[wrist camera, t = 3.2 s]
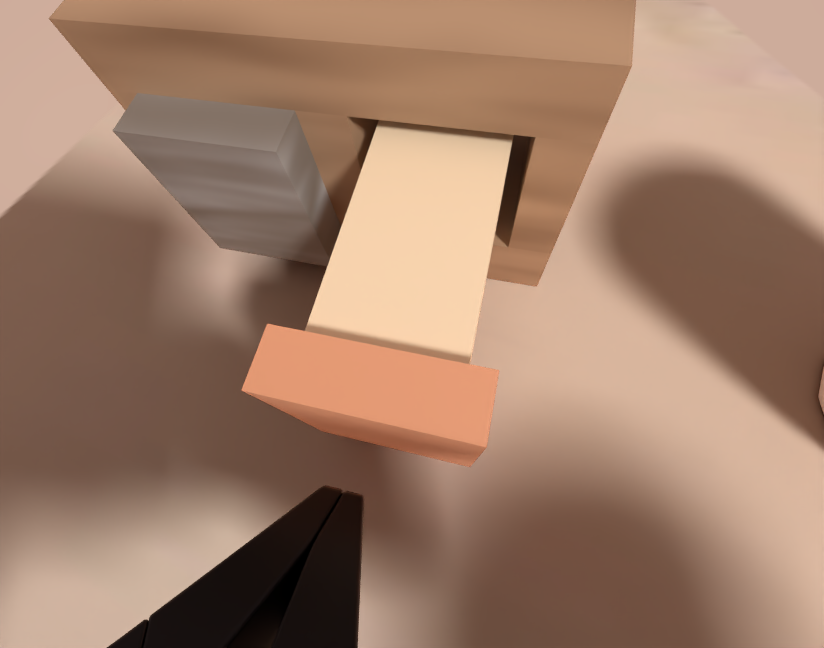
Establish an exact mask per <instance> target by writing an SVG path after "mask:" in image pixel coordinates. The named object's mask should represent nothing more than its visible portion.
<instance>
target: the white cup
mask: <svg viewBox="0 0 824 648" xmlns="http://www.w3.org/2000/svg"><path fill="white" fill-rule="evenodd" d="M818 398H819V401H820V404H821V407H822V410H823V413H824V368H823V373H822V378H821V384H820V389H819V395H818Z"/></svg>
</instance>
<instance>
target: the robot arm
mask: <svg viewBox="0 0 824 648" xmlns="http://www.w3.org/2000/svg"><path fill="white" fill-rule="evenodd" d="M363 512H364V497H363V495H361V494H357V493H353V492H350V491H345V492H343V490H341V489H338V488H334V487H331V486H323V487H321V488H319V489H318V490H317V491H315V492H314V493H313V494H312V495H310V496H309V497H308V498H306V499H305V500H304V501H302V502H301V503H300V504H298V505H297V506H296V507H294V508H293V509H292V510H290V511H289V512H288V513H286V514H285V515H284V516H282V517H281V518H280V519H278V520H277V521H276V522H274V523H273V524H272V525H270V526H269V527H268V528H266V529H265V530H264V531H262V532H261V533H260V534H258V535H257V536H256V537H254V538H253V539H252V540H250V541H249V542H248V543H246V544H245V545H244V546H242V547H241V548H240V549H238V550H237V551H236V552H234V553H233V554H232V555H230V556H229V557H228V558H226V559H225V560H224V561H222V562H221V563H220V564H218V565H217V566H216V567H214V568H213V569H212V570H210V571H209V572H208V573H206V574H205V575H204V576H202V577H201V578H200V579H198V580H197V581H196V582H194V583H193V584H192V585H190V586H189V587H188V588H186V589H185V590H184V591H182V592H181V593H180V594H178V595H177V596H176V597H174V598H173V599H172V600H170V601H169V602H168V603H166V604H165V605H164V606H162V607H161V608H160V609H158V610H157V611H156V612H154V613H153V614H152V615H151V616H150V618H149V621H148V620H143V621H142V622H141V623H140V624H138V625H137V626H136V627H134V628H133V629H132V630H130V631H129V632H128V633H126V634H125V635H124V636H122V637H121V638H120V639H118V640H117V641H115V642H114V643H113V644H111V645H110V646H108V647H107V648H358V626H359V603H360V580H361V558H362V535H363Z"/></svg>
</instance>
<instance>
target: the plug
mask: <svg viewBox="0 0 824 648" xmlns="http://www.w3.org/2000/svg"><path fill="white" fill-rule="evenodd" d="M513 136H514V135H511V134H502V133H493V132H484V131H475V130H466V129H457V128H448V127H439V126H430V125H421V124H412V123H403V122H394V121H385V120H379V121H378V124H377V127H376V130H375V133H374V136H373V138H372V141H371V144H370V147H369V150H368V153H367V156H366V158H365V161H364V164H363V167H362V170H361V173H360V175H359V178H358V181H357V184H356V187H355V190H354V192H353V195H352V198H351V201H350V204H349V207H348V209H347V212H346V215H345V218H344V221H343V224H342V226H341V229H340V232H339V235H338V238H337V241H336V243H335V246H334V249H333V252H332V255H331V258H330V260H329V263H328V266H327V269H326V272H325V275H324V277H323V280H322V283H321V286H320V289H319V292H318V294H317V297H316V300H315V303H314V306H313V309H312V311H311V314H310V317H309V320H308V323H307V326H306V329H305V331H302V330H297V329H292V328H287V327H282V326H277V325H272V324H267V326H266V328H265V331H264V333H263V336H262V338H261V341H260V344H259V346H258V349H257V351H256V354H255V356H254V359H253V361H252V364H251V367H250V369H249V372H248V374H247V377H246V379H245V382H244V385H243V387H242V390H241V391H243V392H245V393H247V394H249V395H251V396H253V397H255V398H257V399H259V400H261V401H263V402H265V403H267V404H269V405H271V406H273V407H275V408H277V409H279V410H281V411H283V412H285V413H287V414H289V415H291V416H293V417H295V418H297V419H299V420H301V421H303V422H305V423H307V424H309V425H311V426H313V427H315V428H317V429H319V430H321V431H323V432H327V433H331V434H335V435H339V436H343V437H347V438H352V439H356V440H360V441H364V442H368V443H372V444H376V445H381V446H385V447H389V448H393V449H397V450H401V451H405V452H410V453H414V454H418V455H422V456H426V457H430V458H435V459H439V460H443V461H447V462H451V463H455V464H459V465H464V466H468V467H470V466H471V465H472V464H473V463H474V462H475V460H476V459H477V458H478V457H479V456H480V455H481V453H482V452H483V451H484V450H485V449H486V447H487V441H488V435H489V429H490V423H491V417H492V411H493V405H494V399H495V393H496V387H497V381H498V375H499V370H495V369H490V368H485V367H480V366H475V365H470V362H471V357H472V351H473V346H474V341H475V336H476V331H477V325H478V320H479V315H480V310H481V305H482V299H483V294H484V289H485V284H486V279H487V273H488V268H489V263H490V258H491V252H492V247H493V242H494V237H495V232H496V226H497V221H498V216H499V211H500V206H501V200H502V195H503V190H504V185H505V179H506V174H507V168H508V163H509V158H510V152H511V147H512V141H513Z"/></svg>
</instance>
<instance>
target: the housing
mask: <svg viewBox="0 0 824 648" xmlns="http://www.w3.org/2000/svg"><path fill="white" fill-rule="evenodd" d="M635 7H636V0H64V1H63V2H62V3H61V4H60V6H59V7H58V8H57V9H56V10H55V12H54V13H53V14H52V15H51V16H50V18H49V19H50V21H51V22H52V23H53V24H54V25H55V27H56V28H57V29H58V30H59V31H60V33H61V34H62V35H63V36H64V37H65V39H66V40H67V41H68V42H69V43H70V45H71V46H72V47H73V48H74V49H75V50H76V52H77V53H78V54H79V55H80V56H81V58H82V59H83V60H84V61H85V62H86V64H87V65H88V66H89V67H90V68H91V70H92V71H93V72H94V73H95V74H96V76H97V77H98V78H99V79H100V80H101V82H102V83H103V84H104V85H105V86H106V88H107V89H108V90H109V91H110V92H111V94H113V96H114V97H115V98H116V99H117V101H118V102H119V103H120V104H121V105H122V107H123V108H124V109H125V110H126V111H125V113H124V114H123V116H122V117H121V119H120V120H119V122H118V123H117V125H116V126H115V128H114V129H113V132H114V133H115V134H116V135H117V136H118V137H119V138H120V139H121V141H122V142H123V143H124V144H125V145H126V146H127V147H128V148H129V149H130V150H131V151H132V152H133V154H134V155H135V156H136V157H137V158H138V159H139V160H140V161H141V162H142V163H143V164H144V166H145V167H146V168H147V169H148V170H149V171H150V172H151V173H152V174H153V175H154V176H155V177H156V179H157V180H158V181H159V182H160V183H161V184H162V185H163V186H164V187H165V188H166V189H167V191H168V192H169V193H170V194H171V195H172V196H173V197H174V198H175V199H176V200H177V201H178V202H179V204H180V205H181V206H182V207H183V208H184V209H185V210H186V211H187V212H188V213H189V214H190V215H191V217H192V218H193V219H194V220H195V221H196V222H197V223H198V224H199V225H200V226H201V227H202V229H203V230H204V231H205V232H206V233H207V234H208V235H209V236H210V237H211V238H212V239H213V240H214V242H215V243H216V244H217V245H218V246H219V247H220V248H223V249H229V250H235V251H241V252H246V253H252V254H258V255H264V256H269V257H275V258H281V259H287V260H293V261H298V262H304V263H310V264H316V265H321V266H328V263H329V260H330V258H331V255H332V252H333V249H334V246H335V243H336V241H337V238H338V235H339V232H340V229H341V226H342V224H343V221H344V218H345V215H346V212H347V209H348V207H349V204H350V201H351V198H352V195H353V192H354V190H355V187H356V184H357V181H358V178H359V175H360V173H361V170H362V167H363V164H364V161H365V158H366V156H367V153H368V150H369V147H370V144H371V141H372V138H373V136H374V133H375V130H376V127H377V124H378V121H379V120H385V121H394V122H403V123H412V124H421V125H430V126H439V127H448V128H457V129H466V130H475V131H484V132H493V133H502V134H511V135H514V136H513V141H512V147H511V152H510V158H509V163H508V168H507V174H506V179H505V185H504V190H503V195H502V200H501V206H500V211H499V216H498V221H497V226H496V232H495V237H494V242H493V247H492V252H491V258H490V263H489V268H488V273H487V278H489V279H495V280H501V281H507V282H513V283H519V284H525V285H531V286H537V285H538V283H539V280H540V278H541V276H542V273H543V271H544V269H545V266H546V264H547V262H548V259H549V257H550V255H551V252H552V250H553V248H554V245H555V243H556V241H557V238H558V236H559V234H560V232H561V229H562V227H563V225H564V222H565V220H566V218H567V215H568V213H569V211H570V208H571V206H572V204H573V201H574V199H575V197H576V194H577V192H578V190H579V187H580V185H581V183H582V181H583V178H584V176H585V174H586V171H587V169H588V167H589V164H590V162H591V160H592V157H593V155H594V153H595V150H596V148H597V146H598V143H599V141H600V139H601V136H602V134H603V132H604V129H605V127H606V125H607V123H608V120H609V118H610V116H611V113H612V111H613V109H614V106H615V104H616V102H617V99H618V97H619V95H620V92H621V90H622V88H623V85H624V83H625V81H626V78H627V76H628V74H629V72H630V69H631V67H632V55H633V39H634V23H635Z"/></svg>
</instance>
